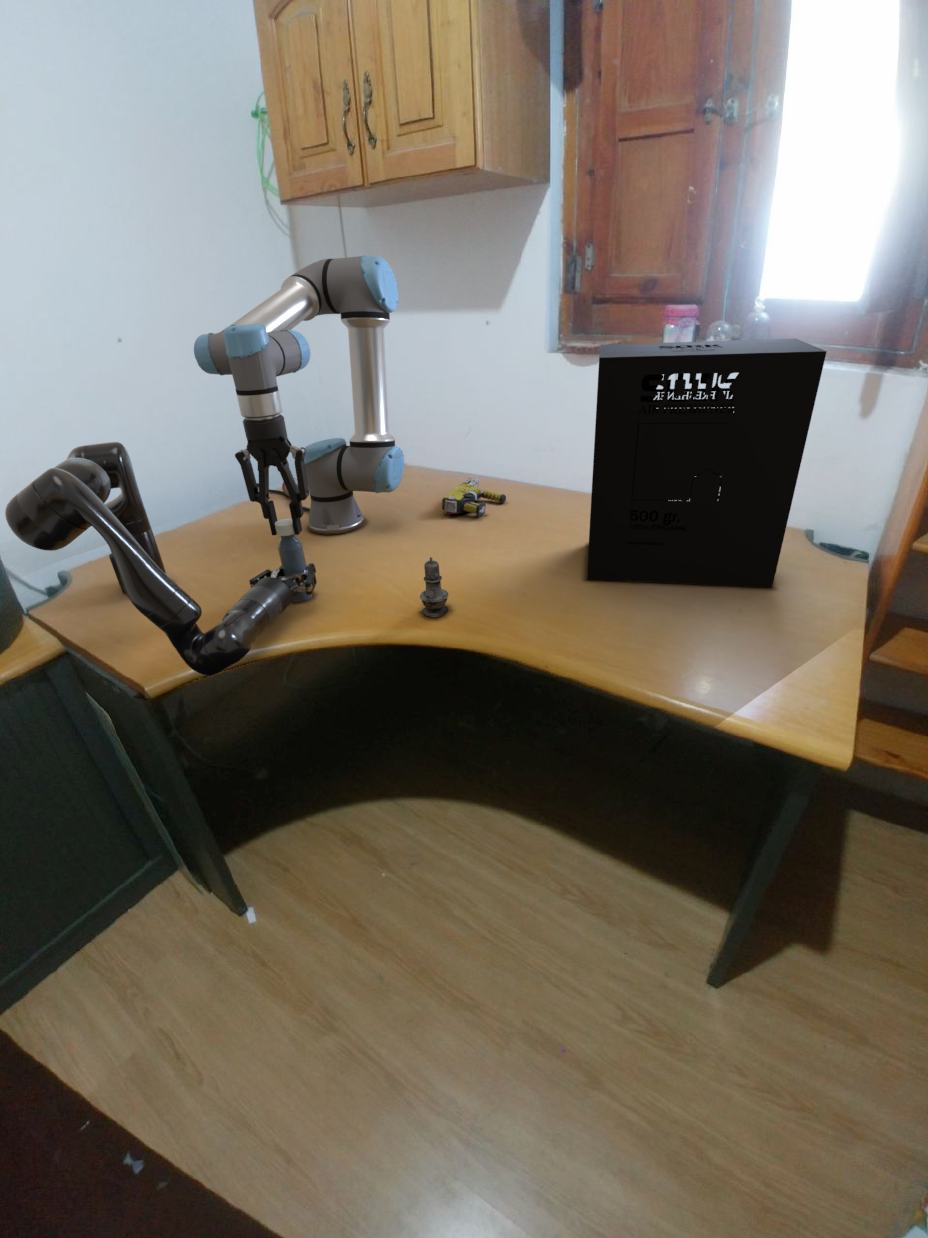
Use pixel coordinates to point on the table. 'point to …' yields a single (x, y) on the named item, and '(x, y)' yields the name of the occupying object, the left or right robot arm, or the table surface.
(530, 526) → the table surface
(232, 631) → the left robot arm
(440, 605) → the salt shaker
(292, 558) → the bottle
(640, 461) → the cardboard box
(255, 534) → the table surface
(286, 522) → the cap
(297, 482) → the eyeball
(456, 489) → the toy gun
